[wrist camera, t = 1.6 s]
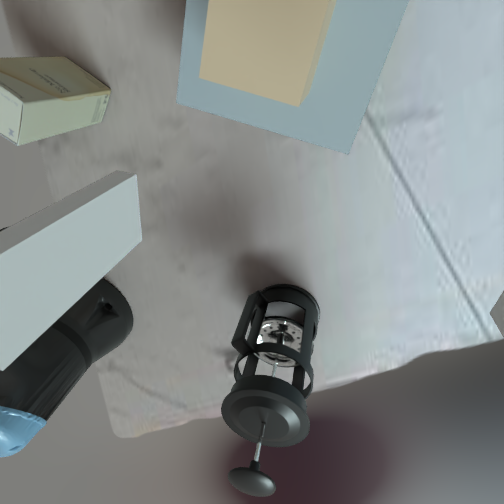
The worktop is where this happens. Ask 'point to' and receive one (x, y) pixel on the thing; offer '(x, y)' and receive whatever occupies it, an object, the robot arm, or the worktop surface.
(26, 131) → the skincare box
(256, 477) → the french press
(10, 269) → the robot arm
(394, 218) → the worktop surface
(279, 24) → the lid
